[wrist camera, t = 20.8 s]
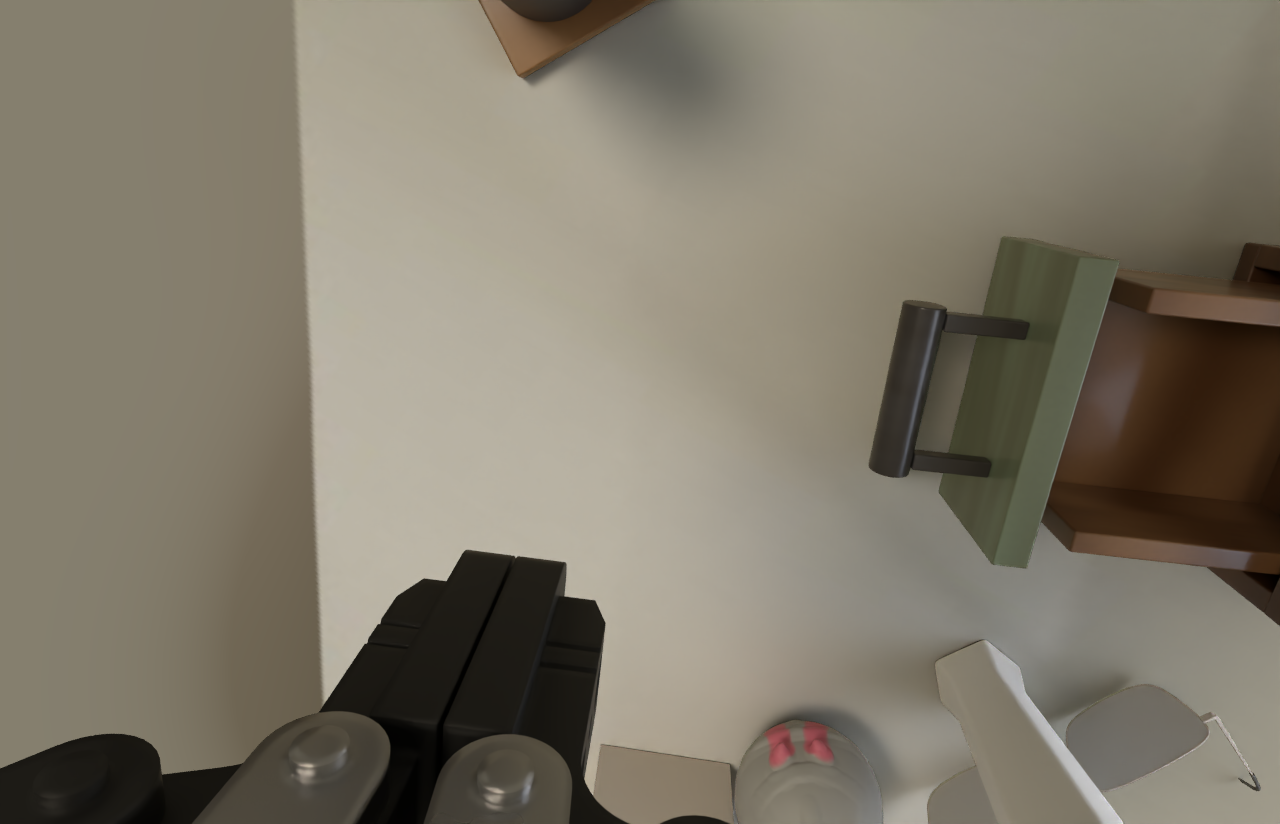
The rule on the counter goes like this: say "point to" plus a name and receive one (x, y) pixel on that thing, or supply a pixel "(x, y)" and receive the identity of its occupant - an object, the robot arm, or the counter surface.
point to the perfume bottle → (1016, 743)
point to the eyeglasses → (1100, 749)
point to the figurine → (806, 779)
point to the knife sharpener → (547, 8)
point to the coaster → (552, 30)
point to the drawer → (1102, 412)
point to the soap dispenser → (661, 786)
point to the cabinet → (1261, 589)
